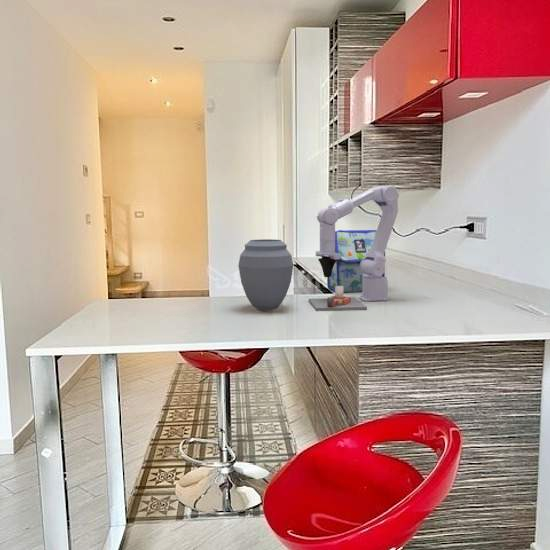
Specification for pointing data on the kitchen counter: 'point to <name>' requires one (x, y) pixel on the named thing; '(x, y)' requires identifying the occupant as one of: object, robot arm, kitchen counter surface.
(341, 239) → the lunch bag
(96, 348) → the kitchen counter surface
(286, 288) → the vase
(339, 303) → the tan tapered cylinder
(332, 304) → the square frame with handle
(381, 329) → the kitchen counter surface
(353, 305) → the station
